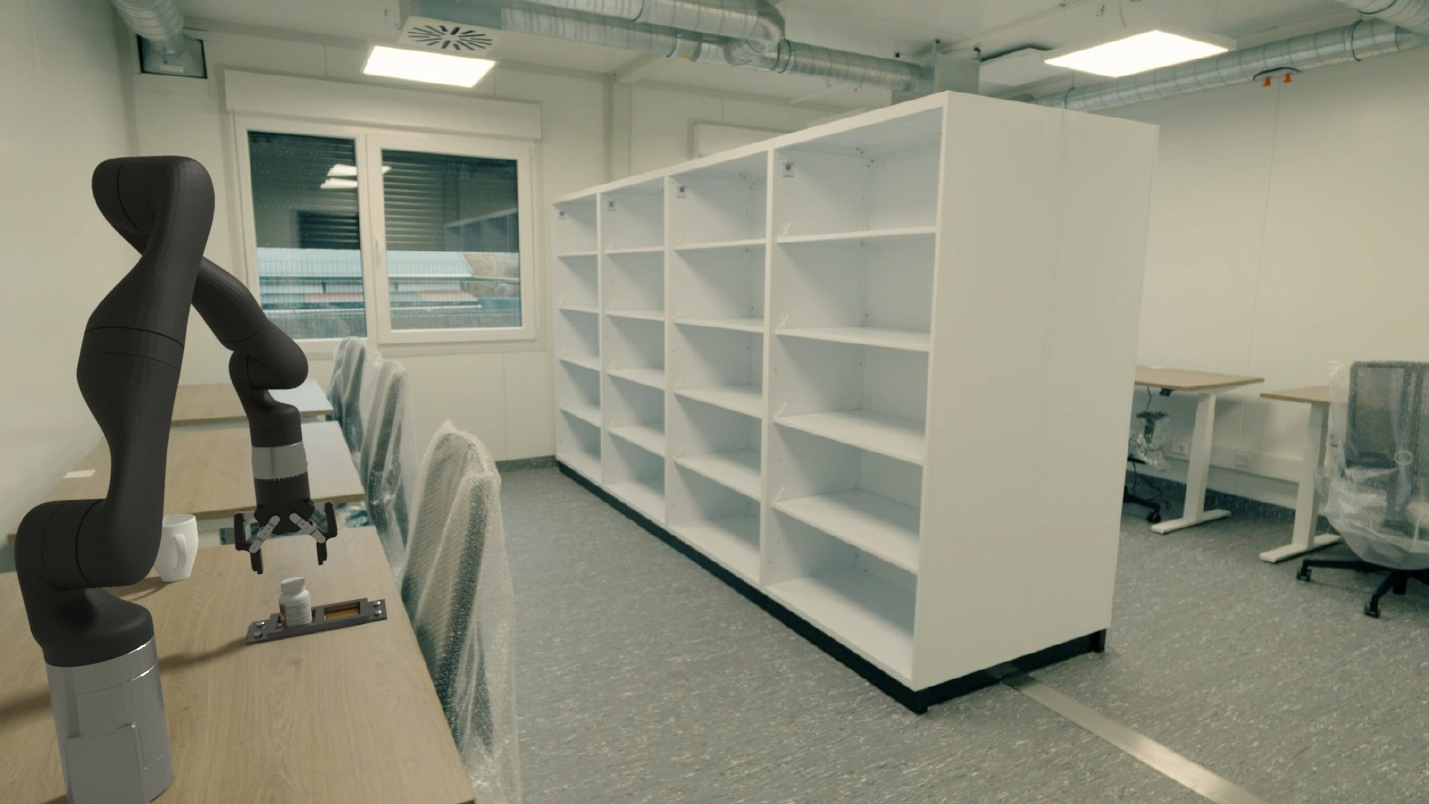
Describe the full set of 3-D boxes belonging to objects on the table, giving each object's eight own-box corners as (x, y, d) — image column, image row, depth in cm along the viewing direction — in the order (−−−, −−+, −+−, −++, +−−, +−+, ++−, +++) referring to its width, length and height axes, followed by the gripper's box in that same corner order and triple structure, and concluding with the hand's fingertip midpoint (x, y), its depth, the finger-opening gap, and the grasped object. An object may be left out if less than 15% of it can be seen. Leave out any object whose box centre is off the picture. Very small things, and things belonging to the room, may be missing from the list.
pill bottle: (282, 623, 126) (278, 578, 124) (313, 617, 128) (308, 573, 126) (280, 634, 122) (275, 588, 121) (311, 628, 124) (307, 583, 122)
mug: (144, 578, 145) (136, 520, 143) (196, 566, 151) (189, 510, 149) (160, 595, 137) (151, 534, 135) (213, 582, 143) (206, 523, 141)
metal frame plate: (387, 618, 127) (386, 612, 127) (247, 644, 118) (246, 637, 118) (384, 601, 134) (384, 594, 134) (252, 624, 125) (251, 617, 125)
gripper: (224, 482, 114) (237, 584, 117) (330, 470, 120) (340, 568, 123) (230, 470, 121) (242, 567, 124) (331, 460, 127) (340, 553, 130)
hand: (291, 568), depth 123 cm, fingers open, 8 cm apart
